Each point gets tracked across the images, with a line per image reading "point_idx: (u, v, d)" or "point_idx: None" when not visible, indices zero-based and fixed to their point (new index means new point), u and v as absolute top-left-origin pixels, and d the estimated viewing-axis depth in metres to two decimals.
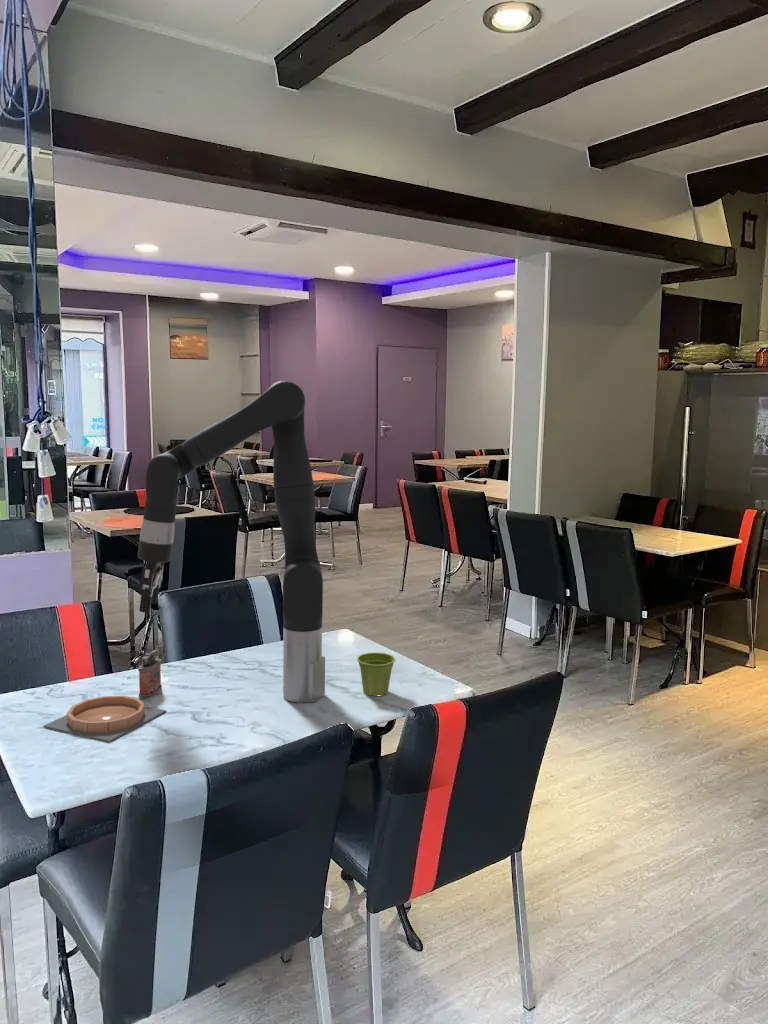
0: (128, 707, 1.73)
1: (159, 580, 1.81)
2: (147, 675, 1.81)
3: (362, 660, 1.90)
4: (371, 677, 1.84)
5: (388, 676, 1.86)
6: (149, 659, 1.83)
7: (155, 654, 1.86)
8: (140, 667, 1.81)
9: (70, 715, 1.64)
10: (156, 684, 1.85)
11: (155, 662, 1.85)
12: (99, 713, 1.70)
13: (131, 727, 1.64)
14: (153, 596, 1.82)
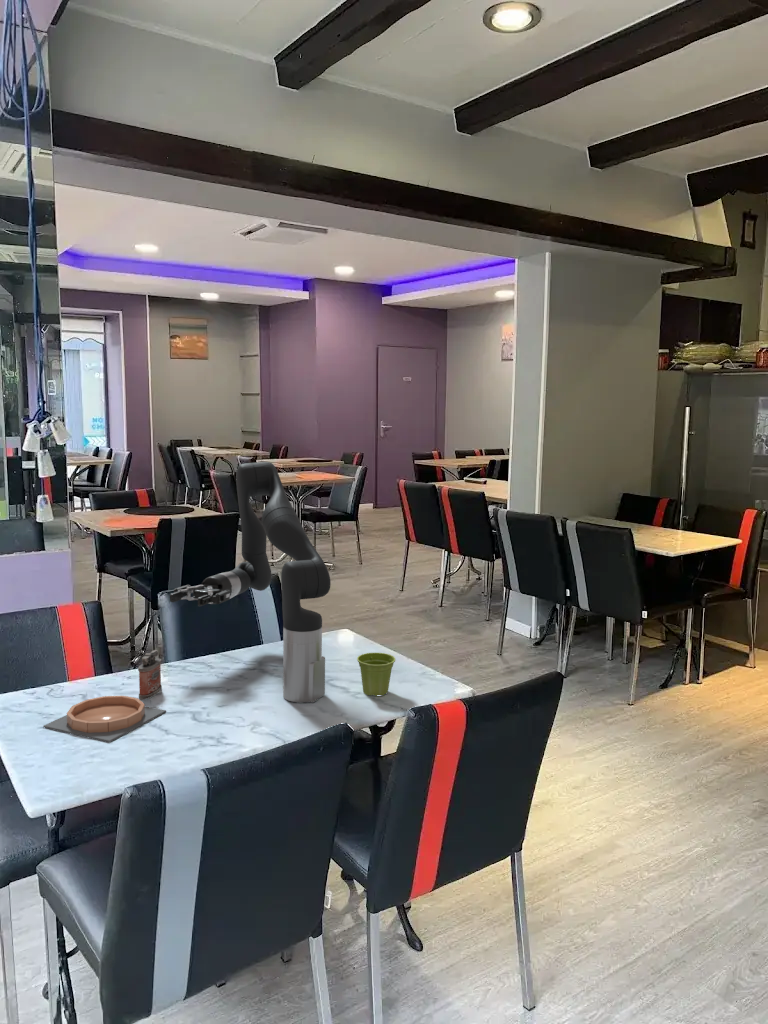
0: (128, 707, 1.73)
1: (207, 591, 2.00)
2: (147, 675, 1.81)
3: (362, 660, 1.90)
4: (371, 677, 1.84)
5: (388, 676, 1.86)
6: (149, 660, 1.83)
7: (155, 654, 1.86)
8: (140, 667, 1.81)
9: (70, 715, 1.64)
10: (156, 684, 1.85)
11: (155, 662, 1.85)
12: (99, 713, 1.70)
13: (131, 727, 1.64)
14: None
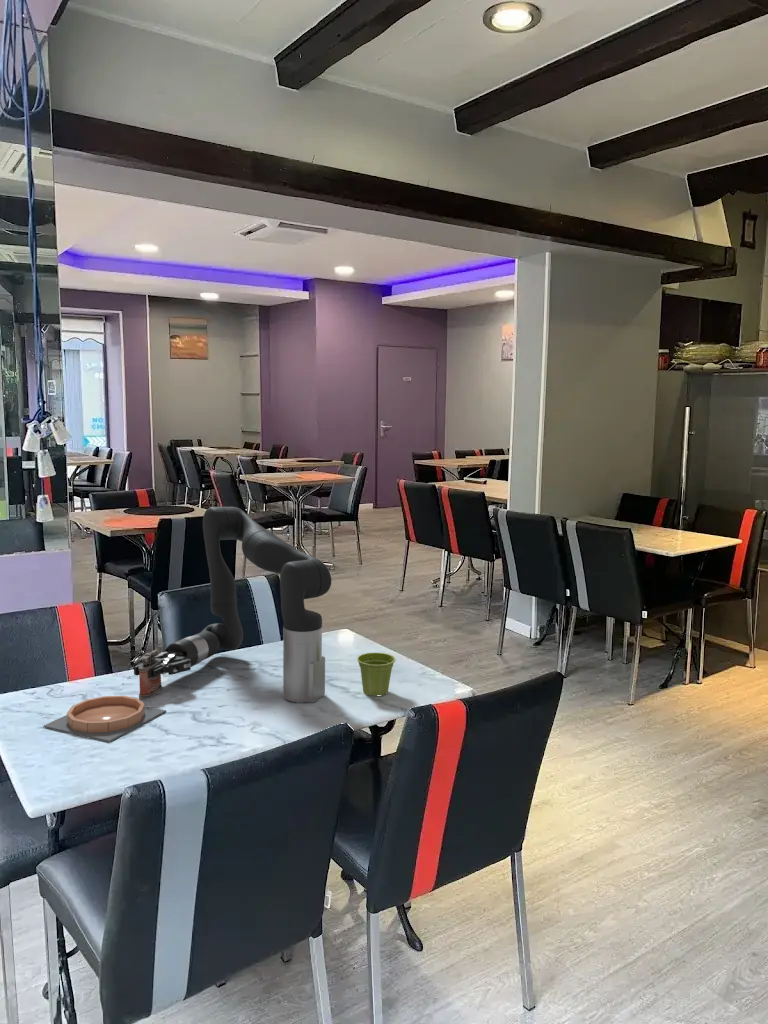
0: (128, 707, 1.73)
1: None
2: (147, 675, 1.81)
3: (362, 660, 1.90)
4: (371, 677, 1.84)
5: (388, 676, 1.86)
6: (149, 659, 1.83)
7: (155, 654, 1.86)
8: (140, 667, 1.81)
9: (70, 715, 1.64)
10: (156, 683, 1.85)
11: (155, 662, 1.85)
12: (99, 713, 1.70)
13: (131, 727, 1.64)
14: None
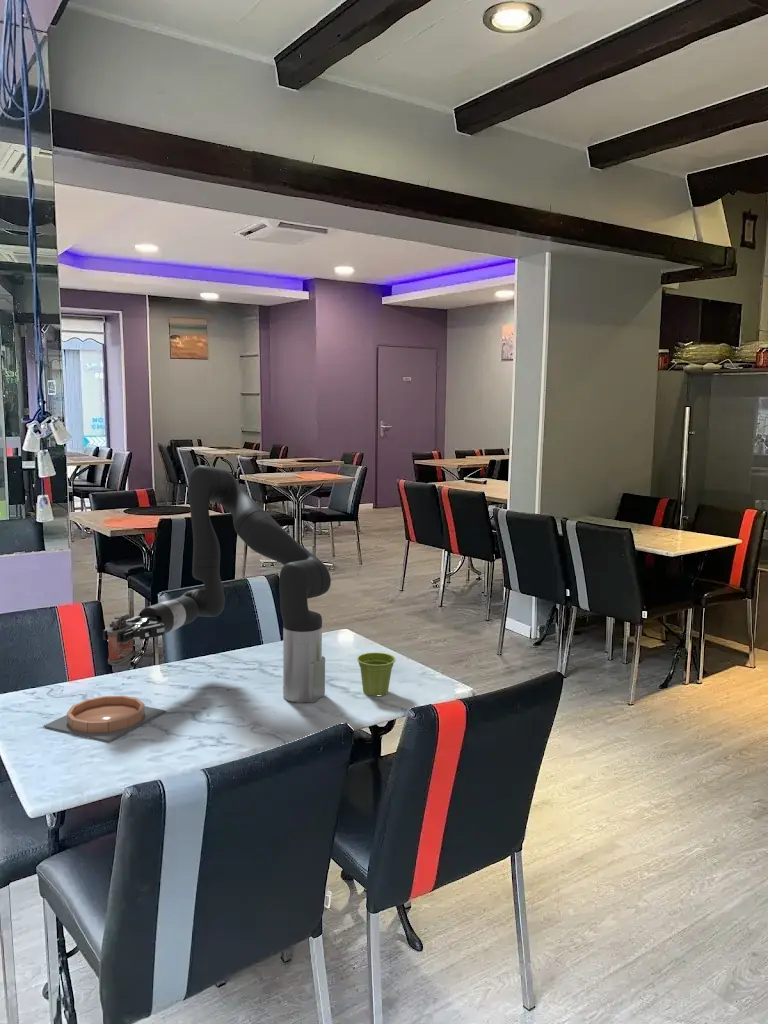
0: (128, 707, 1.73)
1: None
2: (116, 639, 1.70)
3: (362, 660, 1.90)
4: (371, 677, 1.84)
5: (388, 676, 1.86)
6: (119, 623, 1.71)
7: (126, 617, 1.74)
8: (109, 630, 1.70)
9: (70, 715, 1.64)
10: (127, 649, 1.73)
11: (126, 626, 1.73)
12: (99, 713, 1.70)
13: (131, 727, 1.64)
14: None
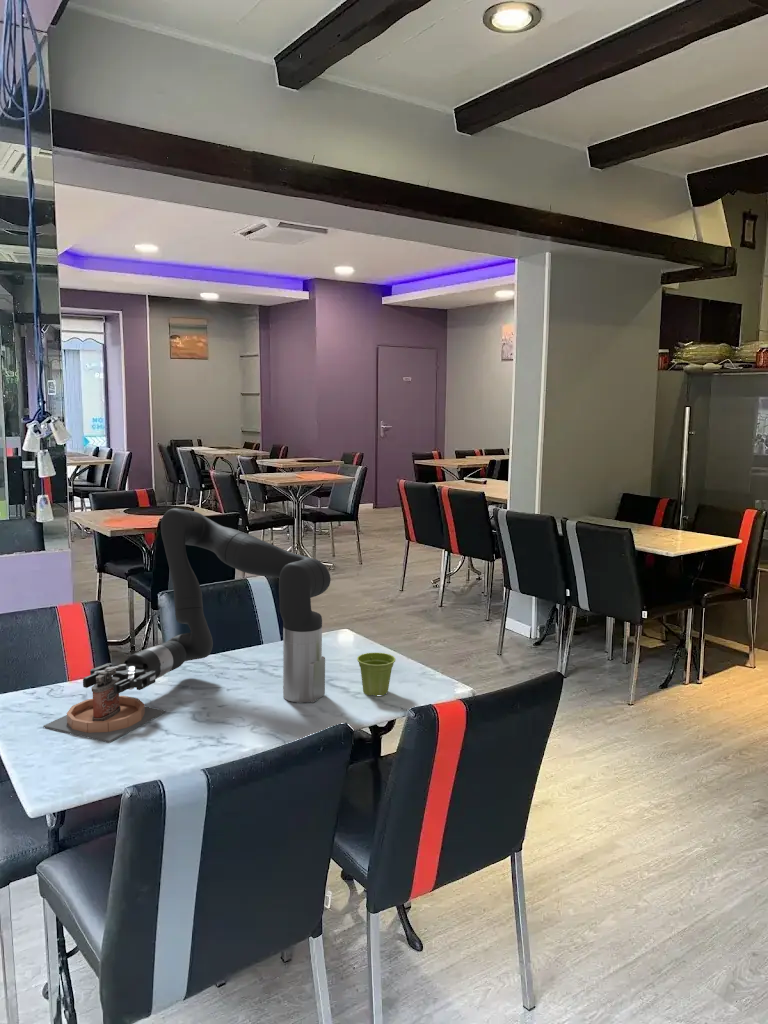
0: (128, 707, 1.73)
1: None
2: (101, 696, 1.65)
3: (362, 660, 1.90)
4: (371, 677, 1.84)
5: (388, 676, 1.86)
6: (104, 679, 1.66)
7: (112, 672, 1.69)
8: (94, 687, 1.65)
9: (70, 715, 1.64)
10: (112, 705, 1.68)
11: (112, 681, 1.69)
12: None
13: (131, 727, 1.64)
14: None
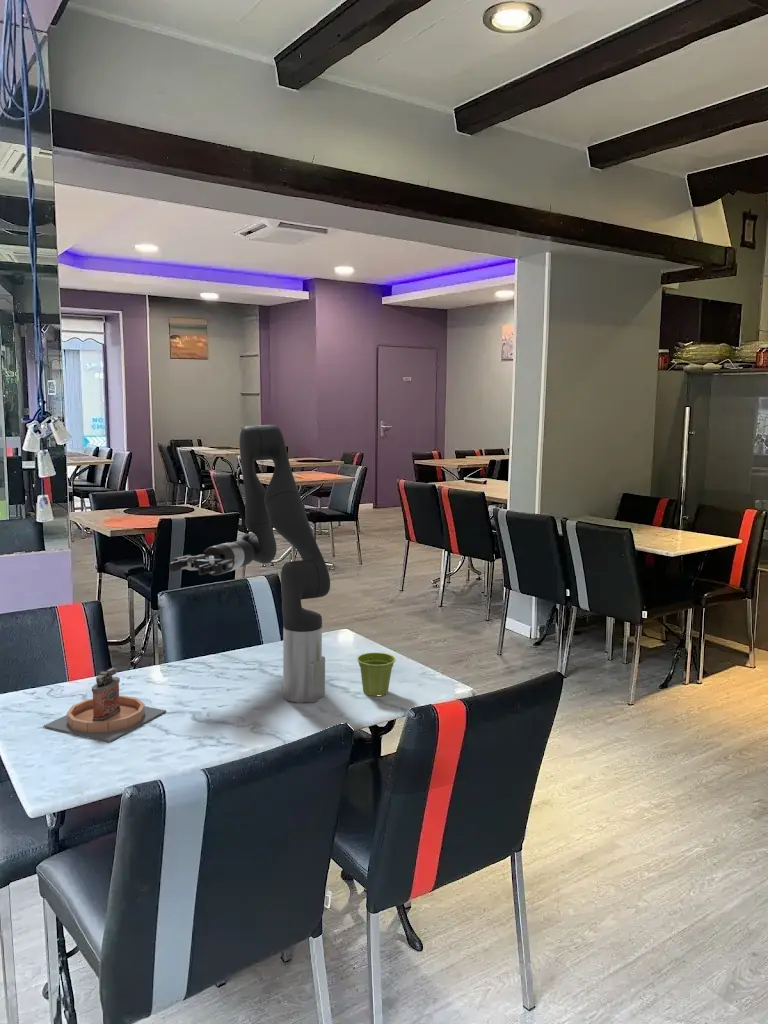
0: (128, 707, 1.73)
1: (209, 560, 1.89)
2: (101, 696, 1.65)
3: (362, 660, 1.90)
4: (371, 677, 1.84)
5: (388, 676, 1.86)
6: (104, 679, 1.66)
7: (112, 672, 1.69)
8: (94, 687, 1.65)
9: (70, 715, 1.64)
10: (112, 705, 1.68)
11: (112, 681, 1.69)
12: None
13: (131, 727, 1.64)
14: None
